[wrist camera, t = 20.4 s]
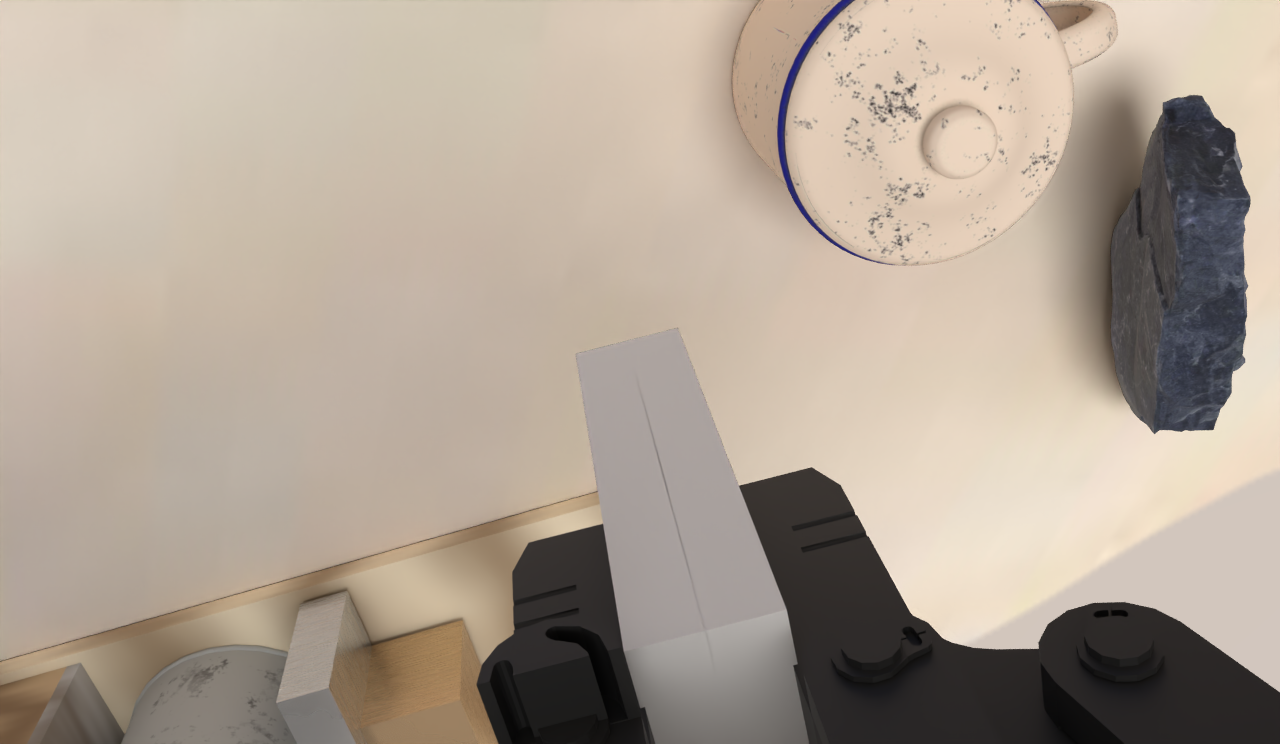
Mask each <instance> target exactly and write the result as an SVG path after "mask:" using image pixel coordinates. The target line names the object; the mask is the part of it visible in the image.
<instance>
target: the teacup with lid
mask: <svg viewBox="0 0 1280 744" xmlns="http://www.w3.org/2000/svg"><path fill="white" fill-rule="evenodd" d="M1117 34H1118V29H1117V22H1116V16H1115V13H1114V11H1113V9H1112V8H1111V7H1110V6H1108V5H1107V4H1104V3H1101V2H1097V1H1091V0H1068V1H1058V2H1050V3H1044V4H1040V3H1039V2H1038V1H1037V0H760V1H759V3H758V4H757V6H756V7H755V9H754V10H753V12H752V13H751V15H750V17H749V19H748V21H747V22H746V24H745V27H744V29H743V31H742V34H741V36H740V39H739V42H738V46H737V49H736V54H735V58H734V65H733V78H732V86H733V98H734V104H735V109H736V112H737V116H738V119H739V122H740V125H741V127H742V130H743V132H744V134H745V136H746V138H747V139H748V141H749V143H750V144H751V146H752V147H753V149H754V150H755V151H756V152H757V154H758V155H759V156H760V157H761V158H762V160H763V161H764V162H765V163H766V164H767V165H768V166H769V167H770V168H771V169H772V171H773V172H774V173H775V174H776V175H777V176H778V177H779V178H780V179H781V180H782V182H783V183H784V184H785V185H786V186H787V187H788V190H789V192H790V194H791V196H792V198H793V200H794V202H795V204H796V205H797V207H798V208H799V210H800V211H801V213H802V214H803V216H804V217H805V218H806V219H807V221H808V222H809V223H810V224H811V225H812V226H813V227H814V228H815V229H816V230H817V231H818V232H819V233H820V234H821V235H822V236H823V237H825V238H826V239H827V240H828V241H830V242H831V243H833V244H834V245H836V246H837V247H839V248H840V249H842V250H844V251H846V252H848V253H850V254H852V255H854V256H857V257H860V258H862V259H865V260H869V261H873V262H877V263H882V264H889V265H904V266H906V265H907V266H913V265H927V264H934V263H939V262H943V261H947V260H951V259H954V258H957V257H960V256H963V255H965V254H968V253H970V252H972V251H974V250H977V249H978V248H980V247H982V246H984V245H986V244H988V243H989V242H991V241H992V240H994V239H995V238H997V237H998V236H1000V235H1001V234H1003V233H1004V232H1005V231H1007V230H1008V229H1009V228H1010V227H1012V226H1013V225H1014V224H1015V223H1016V222H1017V221H1018V220H1019V219H1020V218H1021V217H1023V215H1024V214H1025V213H1026V212H1027V211H1028V210H1029V209H1030V208H1031V207H1032V206H1033V204H1034V203H1035V202H1036V201H1037V199H1038V198H1039V197H1040V195H1041V194H1042V193H1043V191H1044V190H1045V188H1046V187H1047V185H1048V183H1049V182H1050V180H1051V178H1052V176H1053V175H1054V173H1055V171H1056V169H1057V167H1058V165H1059V162H1060V160H1061V158H1062V155H1063V152H1064V150H1065V147H1066V144H1067V140H1068V136H1069V132H1070V128H1071V122H1072V116H1073V104H1074V88H1073V78H1072V70H1071V69H1072V68H1075V67H1077V66H1079V65H1082V64H1084V63H1086V62H1088V61H1090V60H1092V59H1094V58H1096V57H1097V56H1099V55H1101V54H1102V53H1103V52H1105V51H1106V50H1107V49H1108V48H1109V47H1110V46H1111V45H1112V44H1113V43H1114V41H1115V40H1116V37H1117Z"/></svg>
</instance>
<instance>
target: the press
mask: <svg viewBox="0 0 1280 744" xmlns="http://www.w3.org/2000/svg"><path fill="white" fill-rule="evenodd" d="M600 524H603V520H602V514H601V508H600V502H599V495H598V492H595V493H592V494H588V495H585V496H581V497H577V498H574V499H570V500H567V501H563V502H560V503H556V504H553V505H549V506H546V507H542V508H539V509H535V510H532V511H528V512H525V513H521V514H518V515H514V516H511V517H507V518H504V519H500V520H497V521H493V522H490V523H486V524H483V525H479V526H476V527H472V528H469V529H465V530H462V531H458V532H455V533H451V534H448V535H444V536H440V537H437V538H433V539H430V540H426V541H423V542H419V543H416V544H412V545H409V546H405V547H402V548H398V549H395V550H391V551H388V552H384V553H381V554H377V555H374V556H370V557H367V558H363V559H360V560H356V561H353V562H349V563H346V564H342V565H339V566H335V567H332V568H328V569H325V570H321V571H318V572H314V573H311V574H307V575H304V576H300V577H296V578H293V579H289V580H286V581H282V582H279V583H275V584H272V585H268V586H265V587H261V588H258V589H254V590H251V591H247V592H244V593H240V594H237V595H233V596H230V597H226V598H223V599H219V600H216V601H212V602H209V603H205V604H202V605H198V606H195V607H191V608H188V609H184V610H181V611H177V612H174V613H170V614H167V615H163V616H159V617H156V618H152V619H149V620H145V621H142V622H138V623H135V624H131V625H128V626H124V627H121V628H117V629H114V630H110V631H107V632H103V633H100V634H96V635H93V636H89V637H86V638H82V639H79V640H75V641H72V642H68V643H65V644H61V645H58V646H54V647H51V648H47V649H44V650H40V651H37V652H33V653H30V654H26V655H23V656H19V657H15V658H12V659H8V660H5V661H1V662H0V744H121V743H122V740H123V738H124V735H125V733H126V730H127V728H128V726H129V723H130V720H131V716H132V713H133V709H134V706H135V702H136V700H137V699H138V697H139V695H140V694H141V692H142V691H143V689H144V688H145V686H146V684H147V683H148V682H149V681H150V680H151V679H152V678H153V677H155V676H156V675H157V674H158V673H159V672H160V671H161V670H162V669H163V668H164V667H166V666H168V665H170V664H171V663H173V662H175V661H177V660H179V659H180V658H182V657H184V656H186V655H189V654H192V653H195V652H198V651H201V650H204V649H207V648H212V647H220V646H228V645H255V646H265V647H269V648H273V649H278V650H282V651H287V652H289V648H290V644H291V640H292V636H293V632H294V628H295V624H296V620H297V616H298V612H299V608H300V604H302V603H306V602H309V601H313V600H316V599H320V598H323V597H327V596H330V595H334V594H338V593H341V592H345V591H347V592H348V594H349V596H350V598H351V601H352V603H353V605H354V607H355V609H356V612H357V614H358V616H359V618H360V620H361V622H362V625H363V627H364V629H365V631H366V633H367V636H368V638H369V640H370V642H371V644H372V646H373V645H377V644H380V643H384V642H387V641H391V640H394V639H398V638H401V637H405V636H408V635H412V634H415V633H419V632H422V631H426V630H429V629H433V628H436V627H440V626H444V625H447V624H451V623H454V622H458V621H461V620H463V622H464V625H465V627H466V630H467V632H468V635H469V637H470V640H471V642H472V645H473V647H474V650H475V652H476V654H477V657H478V659H479V662H480V664H481V666H482V664H483V663H484V662H485V660H486V659H487V658H488V657H489V655H490V654H491V653H492V652H493V650H494V649H495V648H496V647H497V645H499V644H500V643H502V642H503V641H505V640H506V639H507V638H509V637H510V636H512V635H513V634H514V630H515V628H514V624H513V606H514V603H513V584H512V571H513V570H514V568H515V566H516V564H517V562H518V561H519V559H520V557H521V555H522V553H523V551H524V550H525V548H526V546H527V544H528V543H529V542H533V541H537V540H541V539H545V538H549V537H552V536H556V535H560V534H564V533H568V532H572V531H576V530H580V529H584V528H588V527H592V526H596V525H600Z"/></svg>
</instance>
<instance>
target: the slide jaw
mask: <svg viewBox="0 0 1280 744" xmlns="http://www.w3.org/2000/svg"><path fill="white" fill-rule="evenodd" d="M480 670H481V664H480V662H479V659H478V657H477V654H476V652H475V650H474V647H473V645H472V642H471V640H470V637H469V635H468V632H467V630H466V627H465V625H464V622H463V620H461V621H458V622H454V623H451V624H447V625H444V626H440V627H436V628H433V629H429V630H426V631H422V632H419V633H415V634H412V635H408V636H405V637H401V638H398V639H394V640H391V641H387V642H384V643H380V644H377V645H373V646H372V644H371V642H370V640H369V638H368V636H367V633H366V631H365V629H364V627H363V625H362V622H361V620H360V618H359V616H358V614H357V612H356V609H355V607H354V605H353V603H352V601H351V598H350V596H349V594H348V592H347V591H345V592H341V593H338V594H334V595H330V596H327V597H323V598H320V599H316V600H313V601H309V602H306V603H302V604H300V608H299V612H298V616H297V620H296V624H295V628H294V632H293V636H292V640H291V644H290V648H289V652H288V656H287V660H286V664H285V668H284V672H283V676H282V681H281V685H280V689H279V693H278V697H277V701H276V704H277V706H278V708H279V710H280V712H281V714H282V716H283V717H284V719H285V721H286V723H287V725H288V727H289V729H290V731H291V733H292V735H293V737H294V739H295V740H296V742H297V744H498V742H497V739H496V737H495V734H494V731H493V729H492V726H491V723H490V720H489V718H488V715H487V712H486V710H485V707H484V704H483V702H482V699H481V696H480V694H479V691H478V688H477V685H476V684H477V680H478V677H479V673H480Z"/></svg>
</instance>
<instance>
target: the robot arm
mask: <svg viewBox="0 0 1280 744" xmlns="http://www.w3.org/2000/svg"><path fill="white" fill-rule="evenodd" d="M576 360H577V366H578V372H579V378H580V384H581V391H582V397H583V403H584V409H585V415H586V421H587V428H588V434H589V440H590V446H591V452H592V458H593V465H594V471H595V477H596V483H597V489H598V495H599V502H600V508H601V514H602V520H603V524H600V525H596V526H592V527H588V528H584V529H580V530H576V531H572V532H568V533H564V534H560V535H556V536H552V537H549V538H545V539H541V540H537V541H533V542H529V543H528V544H527V546H526V548H525V550H524V551H523V553H522V555H521V557H520V559H519V561H518V562H517V564H516V566H515V568H514V570H513V571H512V584H513V603H514V606H513V624H514V628H515V630H514V634H513V635H512V636H510V637H509V638H507V639H506V640H505V641H503V642H502V643H500V644H499V645H497V647H496V648H495V649H494V650H493V652H492V653H491V654H490V655H489V657H488V658H487V659H486V660H485V662H484V663H483V664H482V666H481V670H480V673H479V677H478V680H477V684H476V685H477V688H478V691H479V694H480V696H481V699H482V702H483V704H484V707H485V710H486V712H487V715H488V718H489V720H490V723H491V726H492V729H493V731H494V734H495V737H496V739H497V742H498V744H1280V692H1278V691H1277V690H1276V689H1274V688H1273V687H1271V686H1270V685H1268V684H1267V683H1266V682H1264V681H1263V680H1261V679H1260V678H1259V677H1257V676H1256V675H1255V674H1253V673H1252V672H1250V671H1249V670H1248V669H1246V668H1245V667H1243V666H1242V665H1240V664H1239V663H1238V662H1236V661H1235V660H1234V659H1232V658H1231V657H1229V656H1228V655H1226V654H1225V653H1224V652H1222V651H1221V650H1219V649H1218V648H1217V647H1215V646H1214V645H1212V644H1211V643H1210V642H1208V641H1207V640H1205V639H1204V638H1203V637H1201V636H1200V635H1198V634H1197V633H1196V632H1194V631H1193V630H1191V629H1190V628H1188V627H1187V626H1186V625H1184V624H1183V623H1182V622H1180V621H1178V620H1176V619H1174V618H1172V617H1170V616H1168V615H1166V614H1164V613H1162V612H1160V611H1158V610H1156V609H1153V608H1149V607H1144V606H1139V605H1135V604H1130V603H1125V602H1115V603H1092V604H1089V605H1085V606H1082V607H1078V608H1075V609H1071V610H1068V611H1066V612H1065V613H1063V614H1062V615H1061V616H1060V617H1058V618H1056V619H1055V620H1053V621H1052V622H1051V623H1049V624H1048V625H1047V627H1046V629H1045V631H1044V633H1043V635H1042V637H1041V639H1040V641H1039V649H1003V650H1000V649H999V650H996V649H982V648H971V647H967V646H963V645H959V644H955V643H951V642H949V641H947V640H945V639H943V638H942V637H941V636H940V635H939V634H938V633H937V632H936V631H935V630H934V629H933V628H932V627H931V626H930V624H929V623H927V622H925V621H923V620H921V619H919V618H917V617H914V616H913V615H912V614H911V613H910V611H909V610H908V608H907V606H906V604H905V602H904V601H903V599H902V597H901V595H900V593H899V591H898V590H897V588H896V586H895V584H894V582H893V580H892V579H891V577H890V575H889V573H888V571H887V569H886V568H885V566H884V564H883V562H882V560H881V558H880V557H879V555H878V553H877V551H876V549H875V548H874V546H873V544H872V542H871V540H870V538H869V537H868V536H867V535H866V531H865V529H864V527H863V526H862V524H861V522H860V520H859V518H858V516H857V515H855V512H854V509H853V507H852V506H851V504H850V502H849V500H848V498H847V496H846V495H845V493H844V491H843V489H842V487H841V485H839V484H838V483H836V482H834V481H833V480H831V479H830V478H828V477H826V476H825V475H823V474H822V473H820V472H818V471H817V470H815V469H813V468H812V467H811V468H807V469H803V470H800V471H796V472H792V473H788V474H784V475H780V476H776V477H772V478H768V479H764V480H760V481H756V482H752V483H749V484H745V485H741V486H739V485H738V482H737V480H736V477H735V475H734V472H733V470H732V467H731V464H730V462H729V459H728V457H727V454H726V451H725V449H724V446H723V444H722V441H721V438H720V436H719V433H718V431H717V428H716V426H715V423H714V420H713V418H712V415H711V413H710V410H709V407H708V405H707V402H706V400H705V397H704V394H703V392H702V389H701V387H700V384H699V381H698V379H697V376H696V374H695V371H694V369H693V366H692V363H691V361H690V358H689V356H688V353H687V350H686V348H685V345H684V343H683V340H682V337H681V335H680V332H679V330H678V328H675V329H671V330H667V331H663V332H659V333H655V334H651V335H648V336H644V337H640V338H636V339H632V340H628V341H624V342H620V343H616V344H612V345H608V346H604V347H600V348H596V349H592V350H588V351H584V352H580V353H576Z"/></svg>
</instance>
